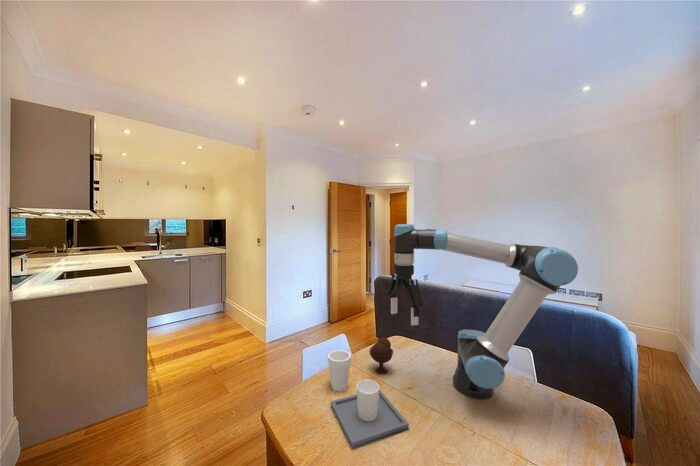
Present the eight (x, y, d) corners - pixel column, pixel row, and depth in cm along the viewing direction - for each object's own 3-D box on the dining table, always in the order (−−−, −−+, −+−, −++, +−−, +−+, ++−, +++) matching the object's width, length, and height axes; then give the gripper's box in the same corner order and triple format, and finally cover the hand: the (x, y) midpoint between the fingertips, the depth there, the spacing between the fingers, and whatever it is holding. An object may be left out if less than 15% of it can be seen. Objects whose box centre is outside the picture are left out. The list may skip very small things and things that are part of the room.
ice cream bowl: (376, 362, 127) (376, 331, 127) (397, 369, 121) (397, 337, 120) (364, 372, 119) (364, 339, 118) (386, 380, 112) (386, 346, 112)
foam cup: (323, 390, 105) (323, 358, 105) (333, 378, 113) (333, 348, 113) (345, 396, 101) (345, 363, 101) (354, 383, 110) (354, 352, 110)
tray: (378, 393, 103) (378, 388, 103) (408, 429, 85) (408, 423, 85) (330, 406, 95) (330, 401, 95) (352, 449, 77) (352, 442, 77)
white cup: (378, 425, 85) (378, 394, 85) (354, 421, 87) (354, 391, 87) (380, 408, 93) (380, 381, 93) (358, 405, 95) (358, 378, 94)
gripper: (379, 260, 110) (379, 310, 111) (416, 269, 87) (416, 332, 88) (394, 260, 113) (394, 308, 114) (433, 268, 90) (433, 328, 91)
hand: (403, 318), depth 101 cm, fingers open, 13 cm apart
